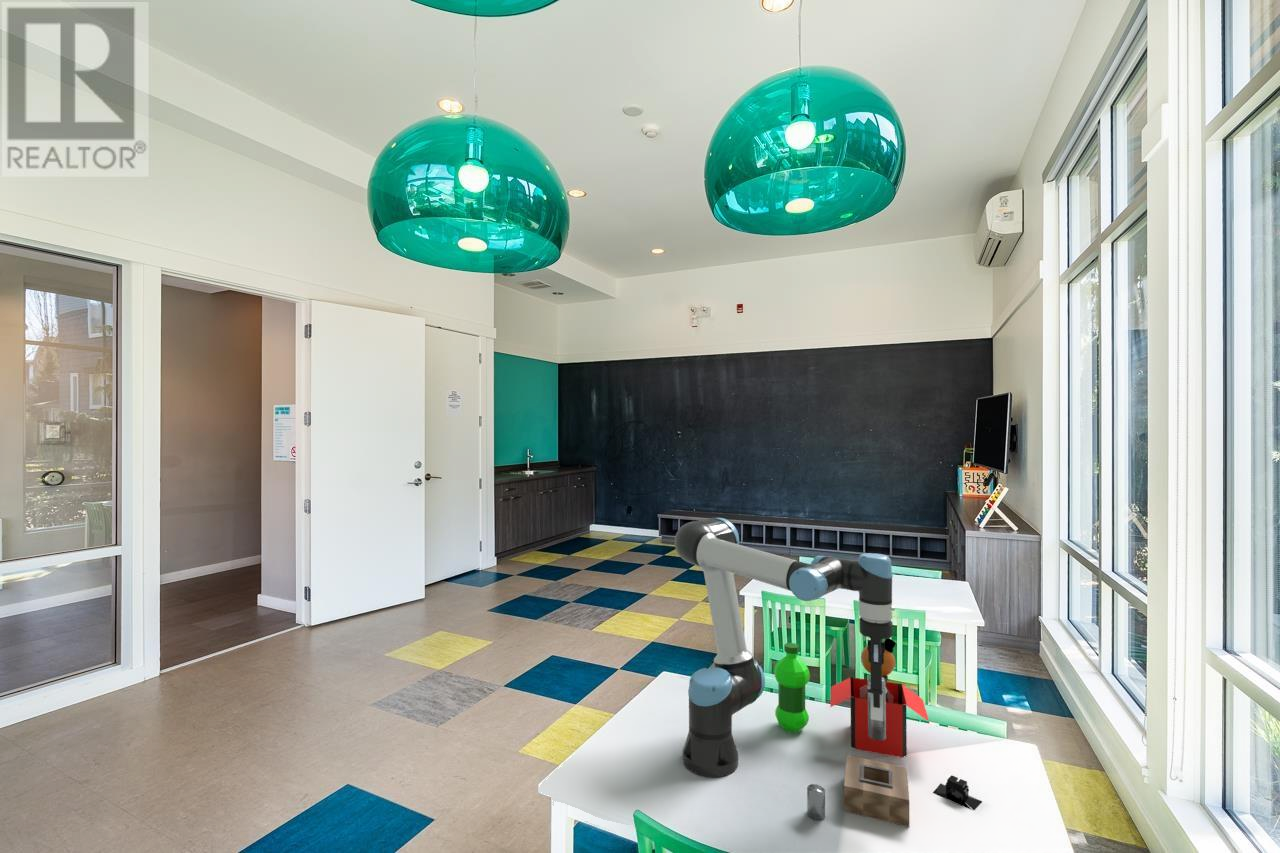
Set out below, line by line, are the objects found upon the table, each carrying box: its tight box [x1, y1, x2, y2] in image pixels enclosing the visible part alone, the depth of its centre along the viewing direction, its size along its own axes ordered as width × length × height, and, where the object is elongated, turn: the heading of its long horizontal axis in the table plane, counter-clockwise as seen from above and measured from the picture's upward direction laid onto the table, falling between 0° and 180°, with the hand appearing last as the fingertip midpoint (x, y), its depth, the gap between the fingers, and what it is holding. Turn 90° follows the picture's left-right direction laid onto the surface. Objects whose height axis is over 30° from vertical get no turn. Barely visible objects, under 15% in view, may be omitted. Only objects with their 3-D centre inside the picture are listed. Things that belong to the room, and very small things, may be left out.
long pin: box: [867, 674, 886, 741], centre depth 140 cm, size 4×4×14 cm
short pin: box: [806, 783, 826, 822], centre depth 135 cm, size 4×4×6 cm
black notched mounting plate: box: [932, 775, 983, 811], centre depth 142 cm, size 12×7×5 cm, turn 42°
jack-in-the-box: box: [829, 638, 930, 758], centre depth 169 cm, size 26×16×30 cm, turn 71°
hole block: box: [843, 755, 910, 828], centre depth 140 cm, size 14×14×6 cm
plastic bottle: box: [773, 642, 811, 733], centre depth 176 cm, size 10×10×25 cm
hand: (876, 714), depth 140 cm, fingers closed on long pin, 4 cm apart
